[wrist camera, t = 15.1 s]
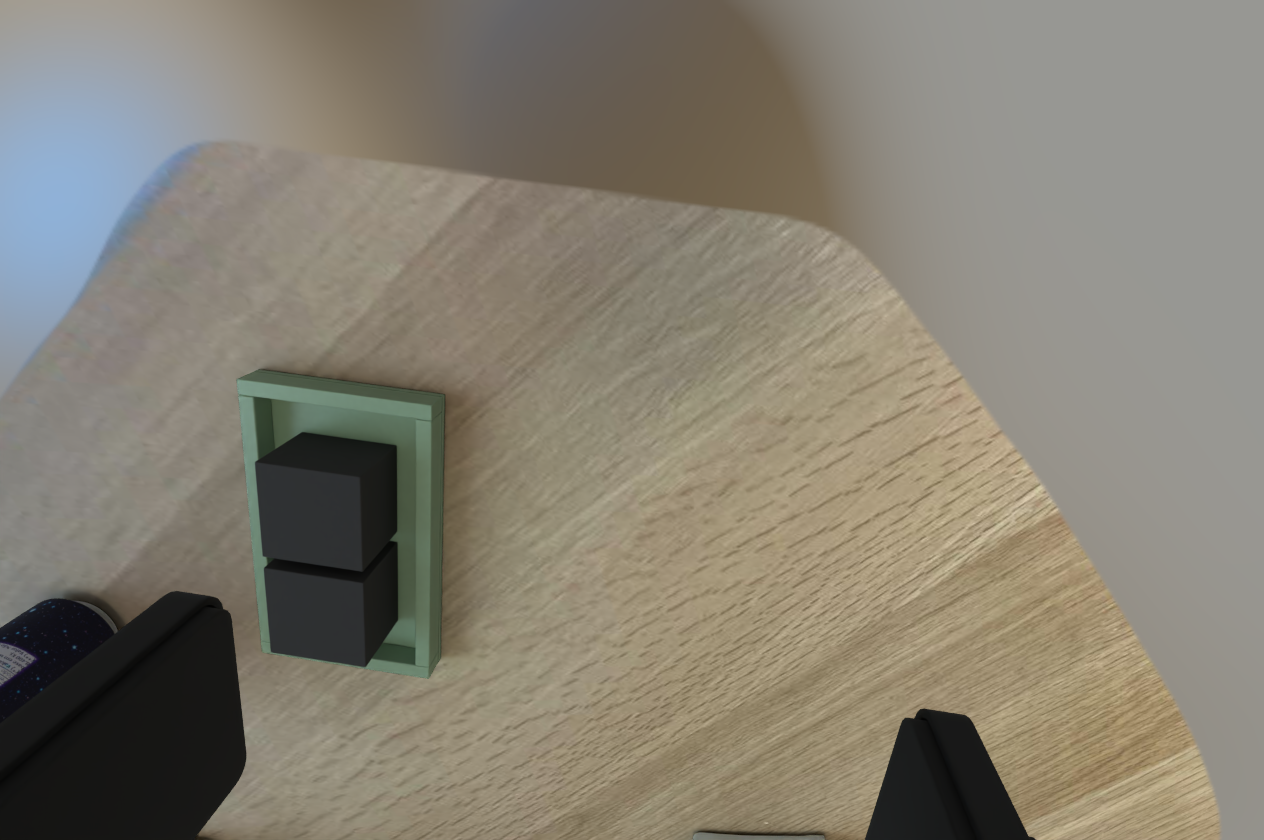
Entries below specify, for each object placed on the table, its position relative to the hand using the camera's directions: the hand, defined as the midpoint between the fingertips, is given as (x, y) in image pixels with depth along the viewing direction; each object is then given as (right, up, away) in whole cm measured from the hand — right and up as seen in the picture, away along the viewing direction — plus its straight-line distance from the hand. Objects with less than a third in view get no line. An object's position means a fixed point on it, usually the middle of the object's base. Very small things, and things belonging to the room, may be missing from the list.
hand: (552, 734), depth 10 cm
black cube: (-14, +1, +26) cm, 30 cm away
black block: (-14, -4, +28) cm, 32 cm away
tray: (-14, -1, +28) cm, 31 cm away
